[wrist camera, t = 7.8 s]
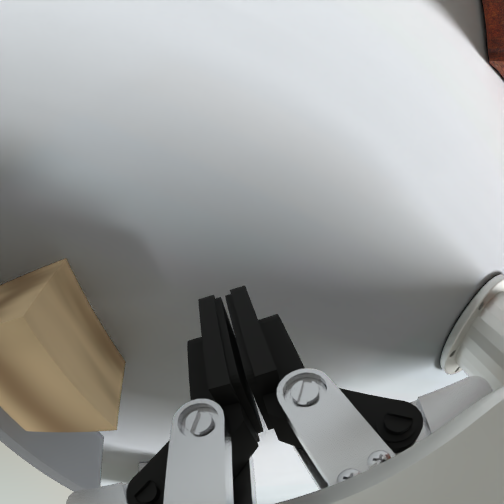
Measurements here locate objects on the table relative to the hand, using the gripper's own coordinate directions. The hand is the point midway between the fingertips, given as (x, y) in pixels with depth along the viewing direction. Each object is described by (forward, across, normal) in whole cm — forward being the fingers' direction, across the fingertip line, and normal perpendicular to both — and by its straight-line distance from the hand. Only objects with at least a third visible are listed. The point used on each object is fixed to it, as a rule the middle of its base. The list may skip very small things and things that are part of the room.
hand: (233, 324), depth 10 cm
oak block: (+4, +10, 0) cm, 11 cm away
